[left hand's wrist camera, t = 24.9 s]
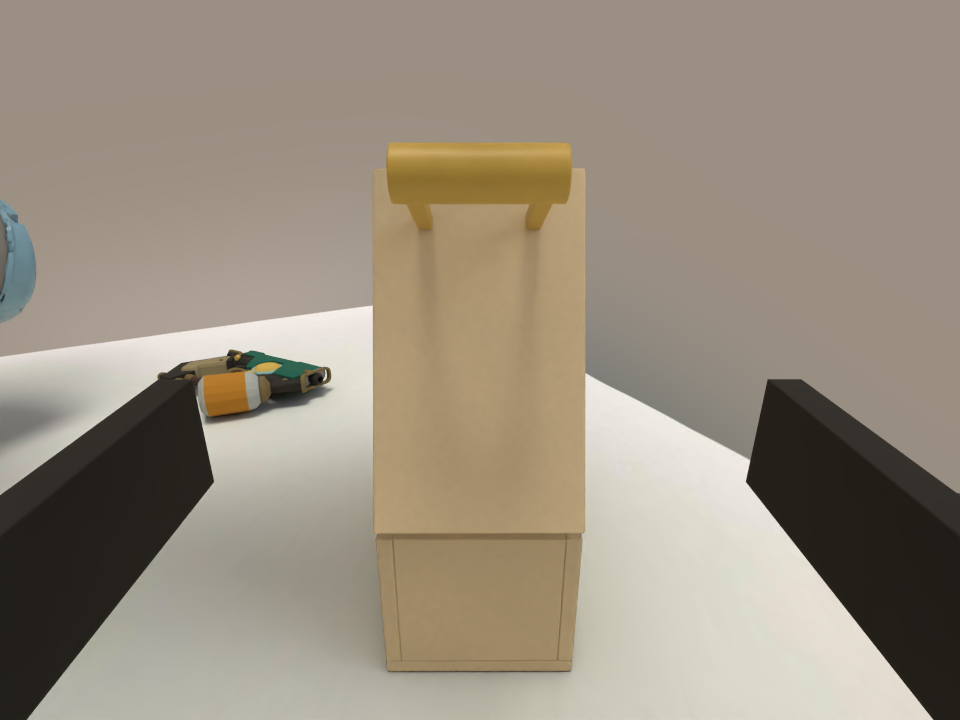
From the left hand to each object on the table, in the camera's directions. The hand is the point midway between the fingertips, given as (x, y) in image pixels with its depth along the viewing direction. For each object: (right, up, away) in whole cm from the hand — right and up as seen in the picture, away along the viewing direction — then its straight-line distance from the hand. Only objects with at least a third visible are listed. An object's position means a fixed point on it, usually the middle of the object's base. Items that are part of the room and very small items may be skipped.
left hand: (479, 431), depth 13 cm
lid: (0, +2, +13) cm, 14 cm away
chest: (0, -12, +24) cm, 27 cm away
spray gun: (-27, -2, +50) cm, 57 cm away
